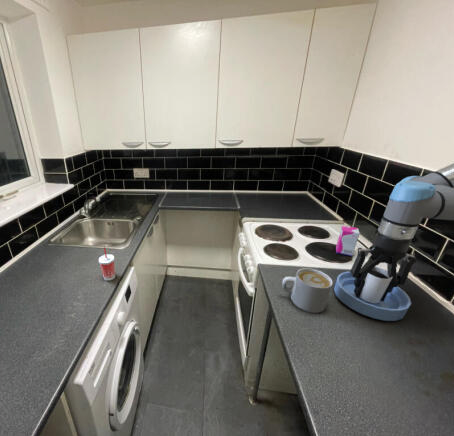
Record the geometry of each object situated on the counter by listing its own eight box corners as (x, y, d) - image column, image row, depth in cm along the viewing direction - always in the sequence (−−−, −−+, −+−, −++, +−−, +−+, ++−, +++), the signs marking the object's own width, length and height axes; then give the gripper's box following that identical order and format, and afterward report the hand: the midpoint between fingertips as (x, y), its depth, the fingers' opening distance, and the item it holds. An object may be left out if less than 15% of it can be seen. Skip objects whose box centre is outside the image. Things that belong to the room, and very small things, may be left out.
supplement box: (350, 250, 104) (358, 227, 99) (352, 256, 100) (360, 233, 95) (335, 247, 107) (342, 225, 102) (335, 253, 102) (343, 230, 98)
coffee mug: (325, 297, 79) (333, 274, 75) (324, 317, 71) (332, 292, 67) (282, 284, 86) (287, 261, 82) (277, 300, 78) (282, 277, 74)
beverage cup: (117, 279, 92) (113, 250, 86) (102, 283, 90) (96, 253, 85) (116, 271, 97) (111, 242, 92) (101, 274, 96) (96, 245, 90)
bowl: (387, 288, 81) (392, 277, 79) (418, 329, 66) (425, 317, 64) (327, 278, 88) (331, 267, 86) (342, 314, 72) (346, 301, 70)
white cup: (371, 290, 79) (381, 266, 75) (386, 304, 73) (398, 279, 69) (350, 289, 80) (359, 265, 75) (364, 303, 73) (374, 278, 69)
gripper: (359, 236, 67) (338, 297, 76) (446, 246, 60) (411, 311, 70) (350, 225, 73) (331, 283, 82) (428, 233, 67) (398, 294, 76)
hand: (368, 296), depth 76 cm, fingers closed on white cup, 6 cm apart
